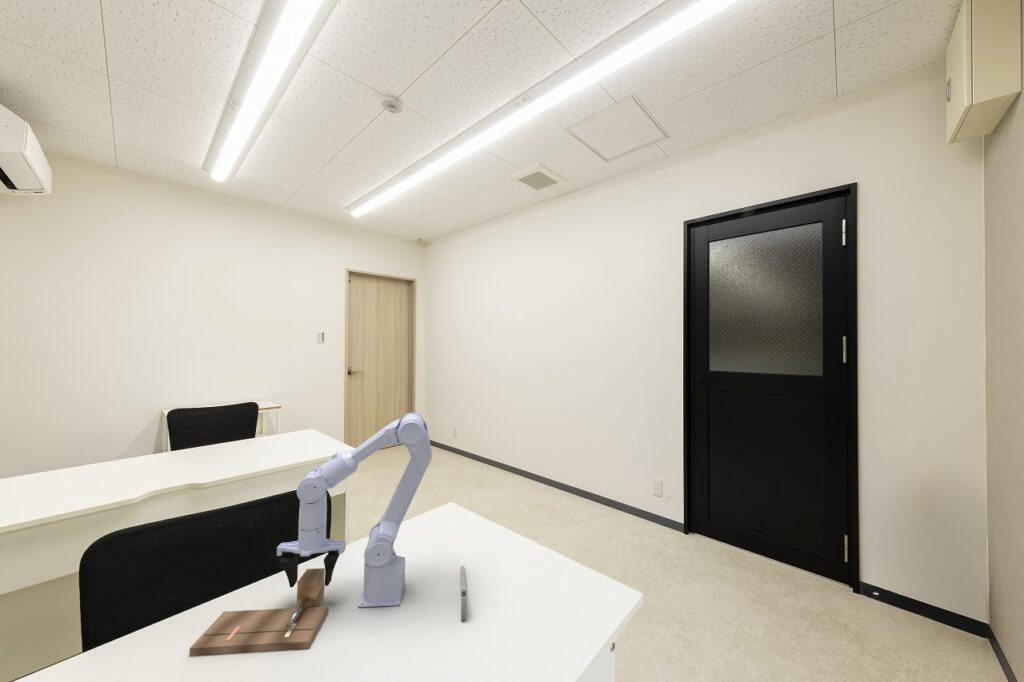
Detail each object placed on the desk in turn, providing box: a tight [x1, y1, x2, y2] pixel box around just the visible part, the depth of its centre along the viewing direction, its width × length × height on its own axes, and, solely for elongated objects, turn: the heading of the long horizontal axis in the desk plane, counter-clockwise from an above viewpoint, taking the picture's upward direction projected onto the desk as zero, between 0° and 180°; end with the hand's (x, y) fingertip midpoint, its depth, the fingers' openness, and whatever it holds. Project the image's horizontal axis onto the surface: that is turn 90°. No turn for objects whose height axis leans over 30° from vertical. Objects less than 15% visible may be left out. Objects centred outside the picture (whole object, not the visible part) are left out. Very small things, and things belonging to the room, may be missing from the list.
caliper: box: [460, 565, 467, 622], centre depth 93 cm, size 20×1×6 cm, turn 8°
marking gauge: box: [287, 567, 325, 630], centre depth 83 cm, size 4×13×7 cm, turn 6°
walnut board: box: [188, 605, 329, 657], centre depth 78 cm, size 22×10×2 cm, turn 96°
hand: (310, 583), depth 87 cm, fingers open, 7 cm apart
